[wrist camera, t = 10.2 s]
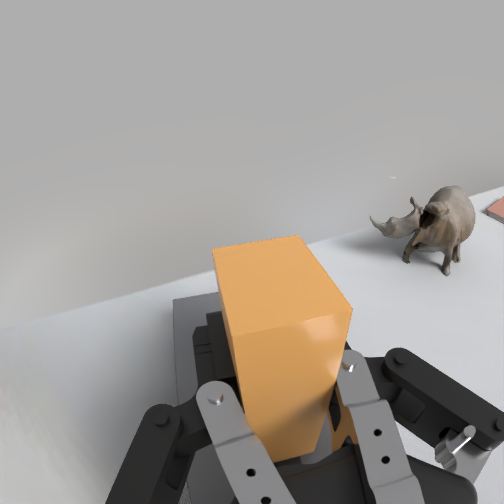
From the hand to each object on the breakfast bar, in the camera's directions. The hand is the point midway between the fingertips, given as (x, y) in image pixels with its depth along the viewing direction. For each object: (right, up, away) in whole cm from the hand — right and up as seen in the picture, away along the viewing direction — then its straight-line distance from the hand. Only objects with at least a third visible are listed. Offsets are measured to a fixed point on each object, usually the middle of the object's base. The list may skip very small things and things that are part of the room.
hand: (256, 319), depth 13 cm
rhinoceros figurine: (+22, +2, +20) cm, 30 cm away
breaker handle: (+1, -6, +1) cm, 6 cm away
